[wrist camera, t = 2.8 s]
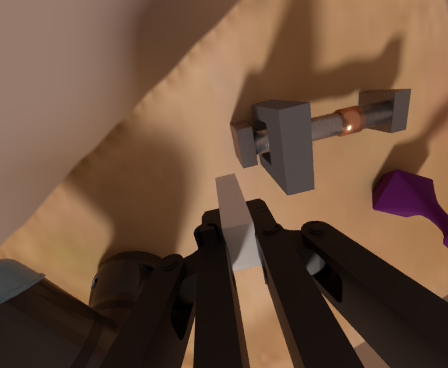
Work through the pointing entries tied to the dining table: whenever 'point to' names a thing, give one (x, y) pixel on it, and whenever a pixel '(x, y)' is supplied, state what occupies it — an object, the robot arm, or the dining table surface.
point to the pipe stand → (334, 122)
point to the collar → (287, 143)
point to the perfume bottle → (410, 198)
